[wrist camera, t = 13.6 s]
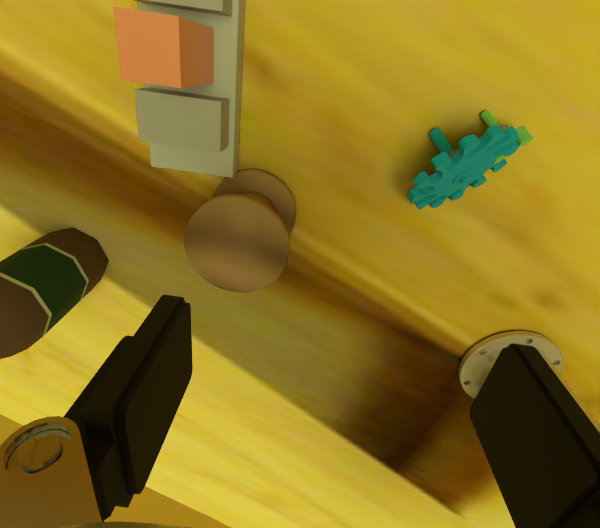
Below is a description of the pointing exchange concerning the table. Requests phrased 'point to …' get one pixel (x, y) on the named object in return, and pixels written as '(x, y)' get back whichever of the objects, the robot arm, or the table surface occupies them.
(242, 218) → the bobbin
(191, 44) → the orange rectangular block
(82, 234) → the beer bottle
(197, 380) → the table surface
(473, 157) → the teal lobed piece
